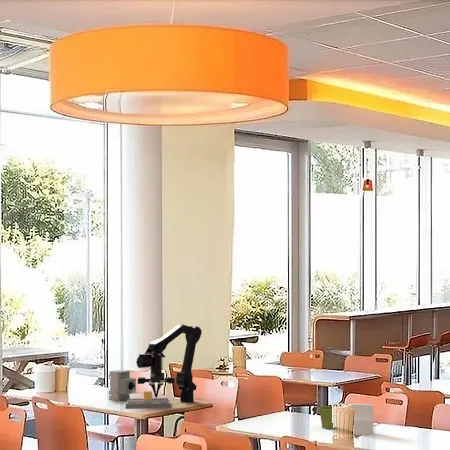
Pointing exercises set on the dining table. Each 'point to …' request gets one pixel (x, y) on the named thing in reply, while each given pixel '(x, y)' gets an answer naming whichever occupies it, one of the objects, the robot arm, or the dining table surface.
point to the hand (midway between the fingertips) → (156, 397)
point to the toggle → (147, 395)
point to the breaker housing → (148, 403)
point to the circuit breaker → (121, 385)
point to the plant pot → (326, 417)
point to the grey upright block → (363, 419)
